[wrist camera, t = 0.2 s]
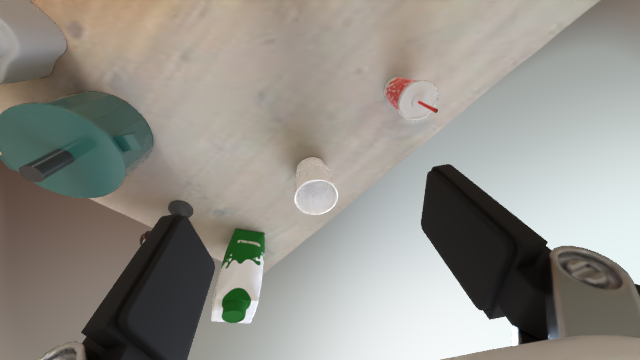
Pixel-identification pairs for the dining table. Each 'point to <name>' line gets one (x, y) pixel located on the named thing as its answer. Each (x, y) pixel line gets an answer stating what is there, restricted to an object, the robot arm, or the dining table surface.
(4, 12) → the lumpy-topped squat cylinder
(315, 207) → the white cup
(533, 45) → the dining table surface
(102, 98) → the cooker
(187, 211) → the sundae
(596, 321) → the robot arm
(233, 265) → the milk carton
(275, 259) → the dining table surface
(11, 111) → the lid
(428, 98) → the beverage cup
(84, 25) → the dining table surface
